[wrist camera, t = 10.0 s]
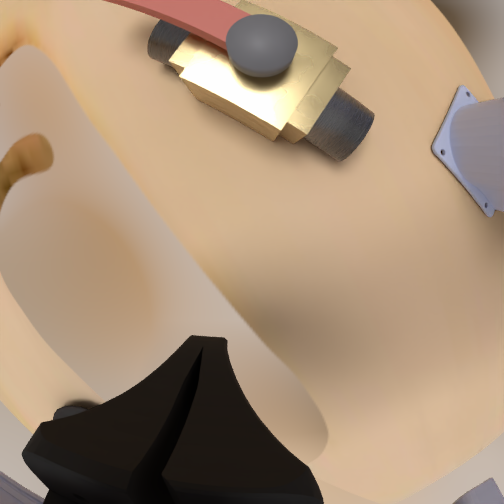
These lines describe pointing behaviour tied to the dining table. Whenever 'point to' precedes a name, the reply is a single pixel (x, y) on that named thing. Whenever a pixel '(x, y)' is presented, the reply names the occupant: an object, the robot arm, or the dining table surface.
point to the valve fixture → (271, 87)
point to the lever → (229, 31)
